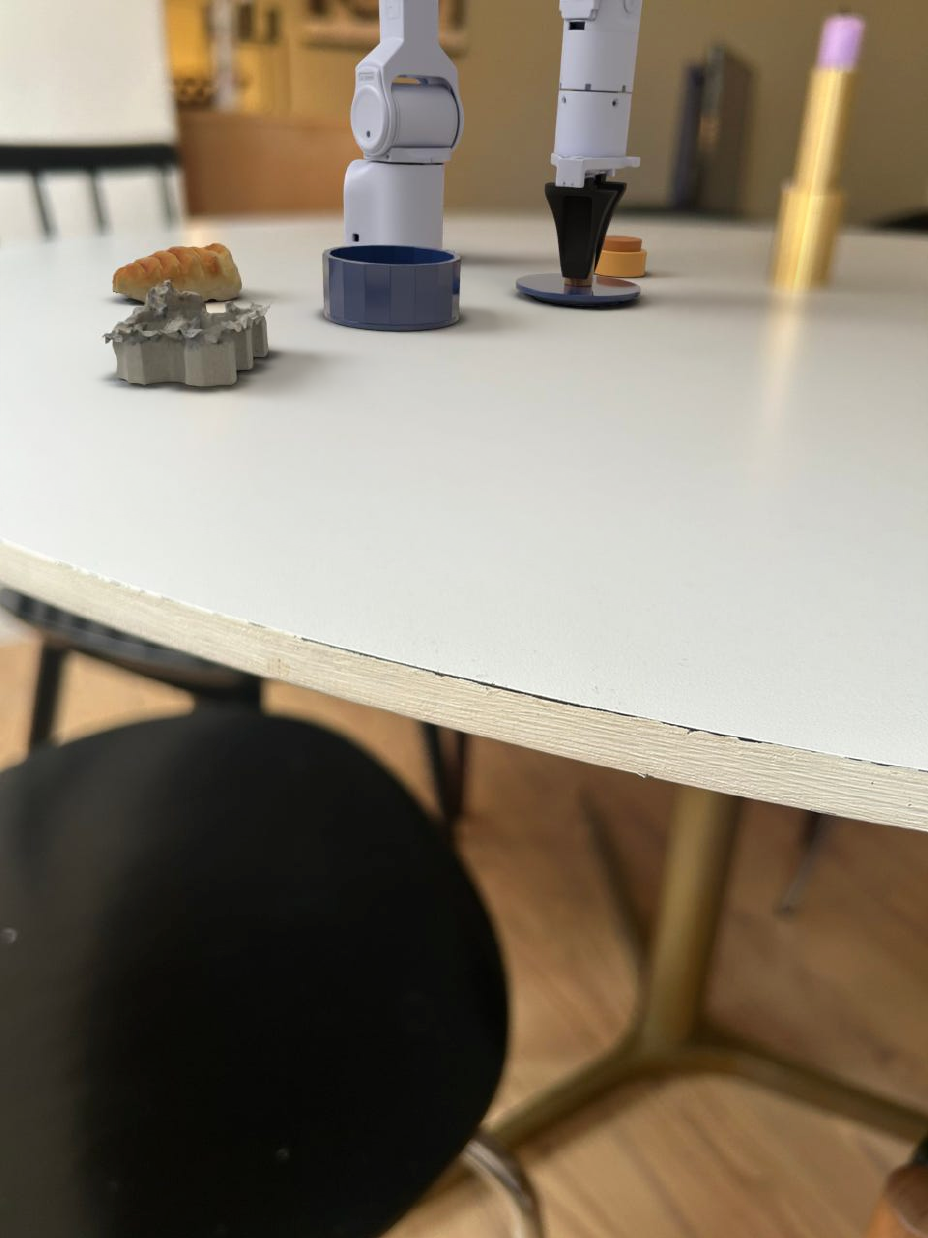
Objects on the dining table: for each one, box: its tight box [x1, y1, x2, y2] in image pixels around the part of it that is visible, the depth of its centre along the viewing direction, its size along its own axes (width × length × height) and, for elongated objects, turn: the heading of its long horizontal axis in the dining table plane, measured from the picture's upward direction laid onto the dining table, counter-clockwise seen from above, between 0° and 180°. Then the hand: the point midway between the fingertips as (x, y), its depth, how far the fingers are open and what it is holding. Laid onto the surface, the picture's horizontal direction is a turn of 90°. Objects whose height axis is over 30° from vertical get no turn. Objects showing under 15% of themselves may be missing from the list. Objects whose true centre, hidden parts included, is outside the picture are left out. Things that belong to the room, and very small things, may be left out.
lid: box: [515, 251, 642, 307], centre depth 81 cm, size 11×11×5 cm
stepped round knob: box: [594, 234, 648, 278], centre depth 94 cm, size 5×5×3 cm
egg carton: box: [101, 279, 273, 387], centre depth 56 cm, size 11×8×4 cm
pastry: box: [111, 242, 243, 304], centre depth 74 cm, size 9×7×4 cm
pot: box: [321, 244, 462, 332], centre depth 71 cm, size 10×10×4 cm
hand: (578, 275), depth 81 cm, fingers closed on lid, 2 cm apart
